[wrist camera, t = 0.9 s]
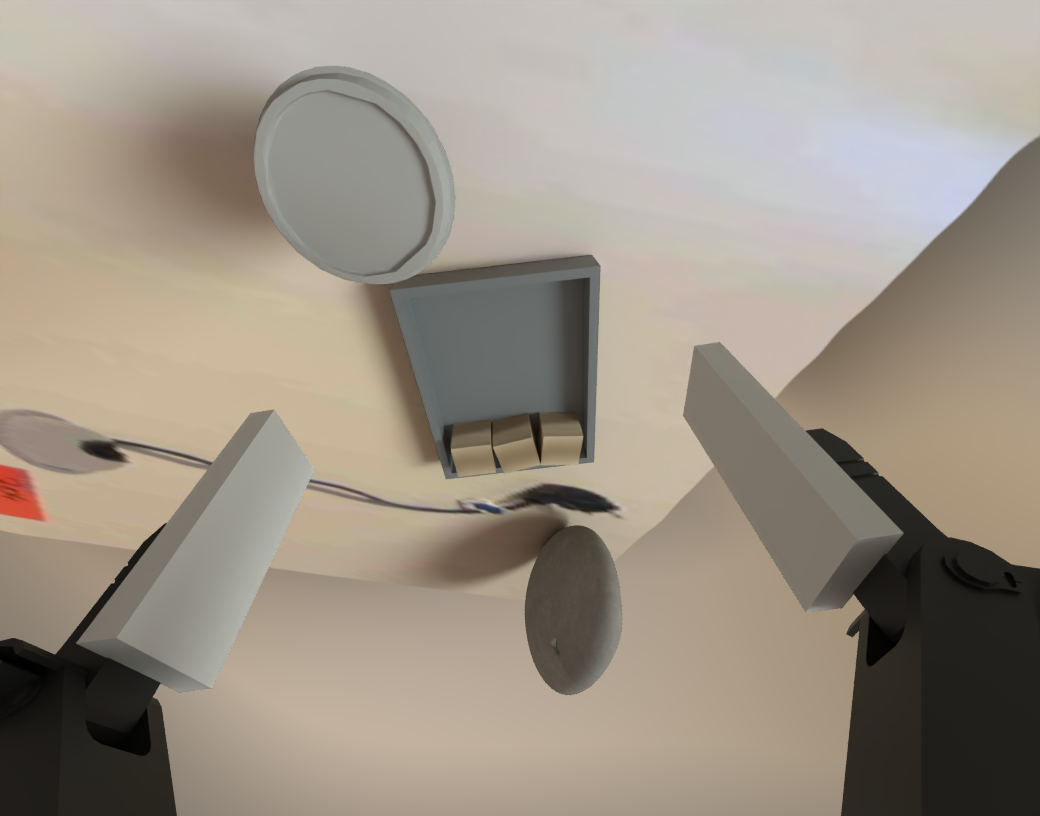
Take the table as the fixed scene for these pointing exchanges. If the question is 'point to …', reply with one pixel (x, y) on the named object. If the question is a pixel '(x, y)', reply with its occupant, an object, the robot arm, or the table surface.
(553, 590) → the dark grey disc
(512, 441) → the block
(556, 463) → the block
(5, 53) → the table surface
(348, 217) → the disposable coffee cup
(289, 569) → the table surface
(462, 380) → the tray
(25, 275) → the table surface
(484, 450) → the block
